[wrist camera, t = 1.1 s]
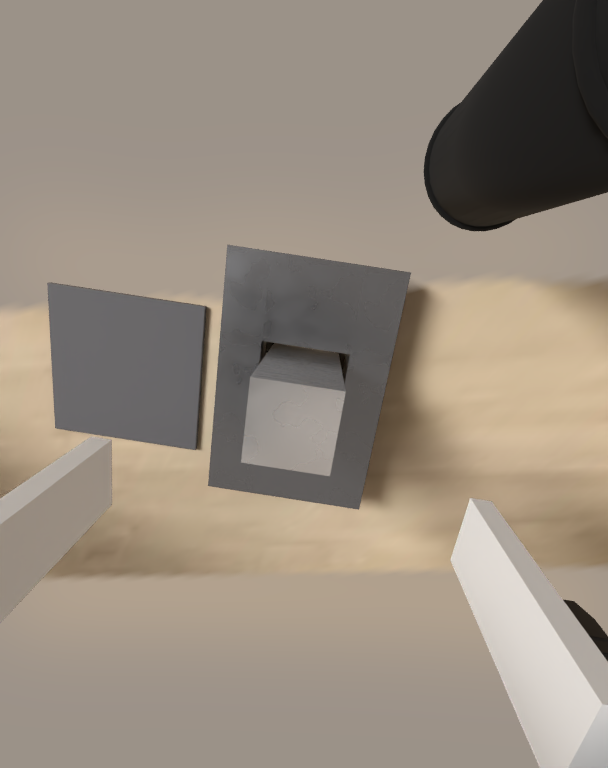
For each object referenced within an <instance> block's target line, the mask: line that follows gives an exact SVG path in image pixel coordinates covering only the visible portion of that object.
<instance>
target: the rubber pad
mask: <svg viewBox="0 0 608 768" xmlns="http://www.w3.org/2000/svg"><path fill="white" fill-rule="evenodd" d="M48 302H49V321H50V339H51V358H52V376H53V394H54V413H55V428H57V429H64V430H70V431H76V432H83V433H89V434H96V435H102V436H109V437H115V438H122V439H128V440H134V441H141V442H147V443H154V444H160V445H167V446H173V447H179V448H186V449H192V450H196V448H197V437H198V423H199V408H200V393H201V378H202V363H203V348H204V334H205V319H206V306H201V305H194V304H188V303H181V302H175V301H168V300H162V299H155V298H148V297H142V296H135V295H129V294H122V293H116V292H109V291H103V290H96V289H90V288H83V287H76V286H69V285H63V284H57V283H48Z"/></svg>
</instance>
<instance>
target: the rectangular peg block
mask: <svg viewBox="0 0 608 768" xmlns="http://www.w3.org/2000/svg"><path fill="white" fill-rule="evenodd" d="M345 393H346V390H345V385H344V380H343V375H342V369H341V364H340V359H339V354H338V353H337V352H331V351H324V350H318V349H311V348H305V347H298V346H292V345H285V344H279V343H274V344H273V346H272V347H271V349H270V350H269V351H268V353H267V354H266V356H265V357H264V358H263V360H262V361H261V362H260V364H259V365H258V367H257V368H256V369H255V371H254V372H253V374H252V375H251V376H250V383H249V392H248V402H247V411H246V420H245V430H244V439H243V448H242V458H241V463H247V464H254V465H260V466H267V467H273V468H279V469H286V470H292V471H299V472H305V473H312V474H318V475H324V476H330V473H331V468H332V462H333V457H334V452H335V446H336V441H337V436H338V430H339V425H340V420H341V414H342V409H343V404H344V398H345Z"/></svg>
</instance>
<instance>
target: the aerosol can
mask: <svg viewBox="0 0 608 768" xmlns="http://www.w3.org/2000/svg"><path fill="white" fill-rule="evenodd" d="M424 179H425V186H426V190H427V194H428V197H429V199H430V201H431V203H432V205H433V207H434V208H435V209H436V211H437V212H438V213H439V214H440V215H441V217H443V218H444V219H445V220H447V221H448V222H450V224H452V225H454V226H457V227H459V228H461V229H465V230H470V231H488V230H493V229H497V228H500V227H502V226H505V225H507V224H509V223H511V222H512V221H514V220H515V219H517V218H521V217H524V216H528V215H531V214H534V213H538V212H541V211H545V210H548V209H552V208H555V207H559V206H562V205H565V204H569V203H572V202H575V201H579V200H583V199H586V198H590V197H593V196H596V195H600V194H603V193H607V192H608V0H543V1H542V2H541V3H540V5H539V6H538V7H537V9H536V10H535V11H534V12H533V13H532V15H531V16H530V17H529V19H528V20H527V21H526V22H525V23H524V25H523V26H522V27H521V28H520V30H519V31H518V32H517V33H516V35H515V36H514V37H513V38H512V40H511V41H510V42H509V43H508V45H507V46H506V47H505V48H504V50H503V51H502V52H501V53H500V55H499V56H498V57H497V58H496V60H495V61H494V62H493V64H492V65H491V66H490V67H489V68H488V70H487V71H486V72H485V73H484V75H483V76H482V77H481V79H480V80H479V81H478V82H477V84H476V85H475V86H474V87H473V88H472V90H471V91H470V92H469V93H468V95H467V96H466V97H465V98H464V100H463V101H462V102H461V103H459V104H458V105H457V106H455V107H454V108H453V109H452V110H451V111H450V112H449V113H448V114H447V115H446V116H445V117H444V118H443V120H442V121H441V122H440V124H439V125H438V127H437V128H436V130H435V131H434V133H433V136H432V138H431V140H430V142H429V145H428V148H427V152H426V156H425V163H424Z"/></svg>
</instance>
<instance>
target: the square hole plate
mask: <svg viewBox="0 0 608 768" xmlns="http://www.w3.org/2000/svg"><path fill="white" fill-rule="evenodd" d="M410 274H411V273H410V272H404V271H397V270H390V269H384V268H377V267H371V266H364V265H358V264H351V263H344V262H337V261H331V260H325V259H317V258H311V257H305V256H298V255H292V254H285V253H278V252H272V251H265V250H259V249H252V248H245V247H238V246H232V245H228V246H227V257H226V269H225V282H224V294H223V307H222V319H221V332H220V344H219V357H218V369H217V382H216V394H215V407H214V419H213V432H212V445H211V457H210V470H209V482H208V486H212V487H219V488H225V489H231V490H238V491H244V492H251V493H257V494H263V495H270V496H276V497H283V498H289V499H295V500H302V501H308V502H315V503H321V504H328V505H334V506H340V507H347V508H353V509H359V507H360V502H361V497H362V493H363V488H364V484H365V479H366V475H367V470H368V466H369V461H370V456H371V452H372V447H373V443H374V438H375V434H376V429H377V425H378V420H379V416H380V411H381V406H382V402H383V397H384V393H385V388H386V384H387V379H388V375H389V370H390V365H391V361H392V356H393V352H394V347H395V343H396V338H397V334H398V329H399V324H400V320H401V315H402V311H403V306H404V302H405V297H406V293H407V288H408V284H409V279H410ZM267 342H272V343H279V344H285V345H292V346H298V347H305V348H311V349H318V350H324V351H331V352H338V353H344V354H346V356H345V362H344V367H343V373H342V375H343V380H344V385H345V390H346V393H345V398H344V404H343V409H342V414H341V420H340V425H339V430H338V436H337V441H336V446H335V452H334V457H333V462H332V468H331V473H330V476H324V475H318V474H312V473H305V472H299V471H292V470H286V469H279V468H273V467H267V466H260V465H254V464H247V463H241V458H242V448H243V439H244V430H245V420H246V411H247V402H248V392H249V383H250V376H251V375H252V374H253V372H254V371H255V369H256V368H257V367H258V365H259V364H260V362H261V361H262V360H263V358H264V357H265V354H266V345H267Z"/></svg>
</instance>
